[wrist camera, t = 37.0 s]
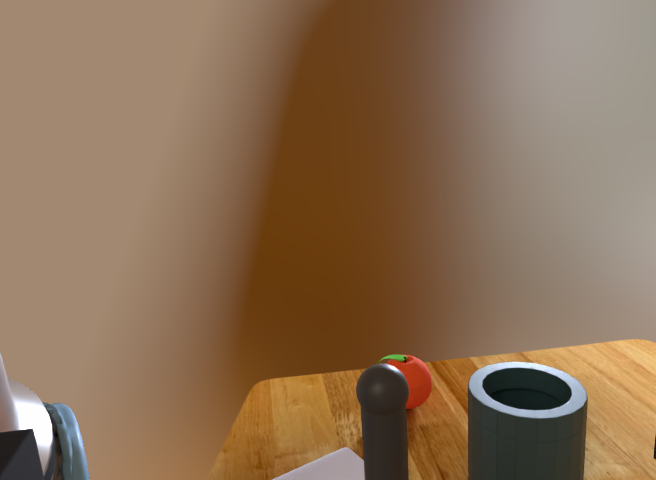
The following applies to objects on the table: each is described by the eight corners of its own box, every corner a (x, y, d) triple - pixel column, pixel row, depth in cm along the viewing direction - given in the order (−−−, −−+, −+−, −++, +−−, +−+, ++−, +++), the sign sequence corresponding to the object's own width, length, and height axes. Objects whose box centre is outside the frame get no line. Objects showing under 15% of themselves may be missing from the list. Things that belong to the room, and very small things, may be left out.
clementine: (364, 408, 75) (361, 359, 73) (389, 385, 80) (387, 340, 78) (418, 425, 70) (416, 373, 68) (441, 399, 75) (440, 351, 74)
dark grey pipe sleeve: (510, 533, 52) (512, 429, 49) (449, 463, 62) (448, 374, 60) (607, 502, 55) (614, 402, 52) (533, 440, 66) (536, 354, 63)
